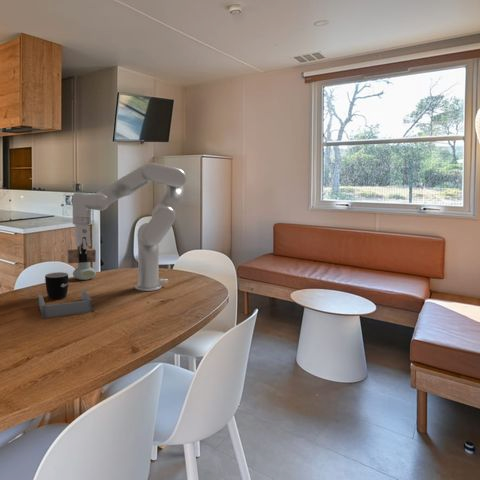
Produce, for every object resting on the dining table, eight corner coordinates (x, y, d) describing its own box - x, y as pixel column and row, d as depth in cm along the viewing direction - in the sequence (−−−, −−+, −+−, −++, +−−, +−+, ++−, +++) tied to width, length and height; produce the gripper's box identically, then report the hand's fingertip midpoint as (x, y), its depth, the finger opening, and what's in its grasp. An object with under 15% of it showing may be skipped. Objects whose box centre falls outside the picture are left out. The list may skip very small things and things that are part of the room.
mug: (61, 301, 158) (60, 277, 157) (41, 299, 159) (40, 276, 158) (76, 293, 170) (75, 271, 169) (57, 291, 171) (57, 270, 170)
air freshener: (91, 275, 202) (91, 257, 200) (98, 278, 196) (97, 260, 195) (70, 278, 194) (70, 259, 193) (77, 282, 189) (76, 262, 187)
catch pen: (84, 299, 162) (84, 289, 161) (92, 311, 147) (92, 300, 147) (38, 305, 153) (38, 294, 152) (42, 318, 138) (42, 306, 138)
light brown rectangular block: (93, 260, 174) (93, 248, 173) (95, 261, 171) (95, 249, 170) (67, 261, 168) (67, 249, 167) (69, 263, 165) (69, 251, 164)
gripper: (95, 222, 162) (94, 264, 164) (86, 219, 176) (86, 257, 178) (76, 222, 158) (76, 265, 160) (69, 219, 171) (69, 258, 174)
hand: (81, 261), depth 169 cm, fingers closed on light brown rectangular block, 3 cm apart
